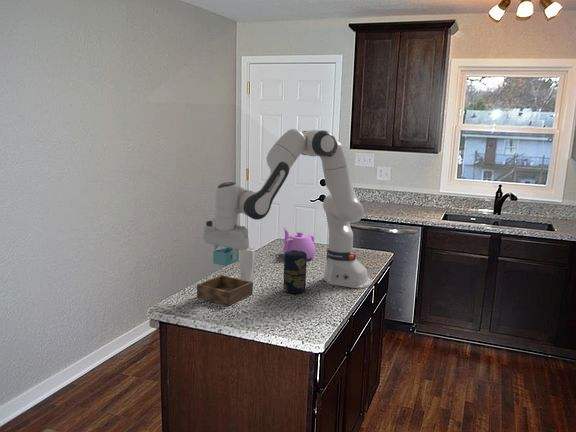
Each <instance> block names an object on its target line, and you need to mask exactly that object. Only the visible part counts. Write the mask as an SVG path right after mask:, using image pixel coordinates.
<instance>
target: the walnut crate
mask: <svg viewBox="0 0 576 432" xmlns="http://www.w3.org/2000/svg"><path fill="white" fill-rule="evenodd" d="M253 284H254V281H246V280H242V279H240V278H237V277H233V276H229V275H224V274H221V275H217V276H216V277H213V278H210V279H208V280H205V281H203V282H201V283H198V284H197V285H196V286H197V287H196V299H200V300H204V301H209V302H212V303H215V304H219V305H223V306H226V307H227V306H228V307H232V306H233V305H235V304H236V303H239V302H240V301H241V302H242V301H243V300H244V299H247V298H248V297H251V296H253V294H254V293H253V289H254V288H253V287H254V286H253Z"/></svg>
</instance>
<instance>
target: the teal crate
mask: <svg viewBox="0 0 576 432" xmlns="http://www.w3.org/2000/svg"><path fill="white" fill-rule="evenodd" d="M233 252H234V251H233V248H228V247H222V248H219V250H216V251H215V250H213V254H212V255H213V259H212V260H213V264H214V265H220V266H224V267H226V266H229V265H232V264H235V263H237V262H239V251H238V252H237V254H236V259H231V258H230V257H231V254H233Z"/></svg>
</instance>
